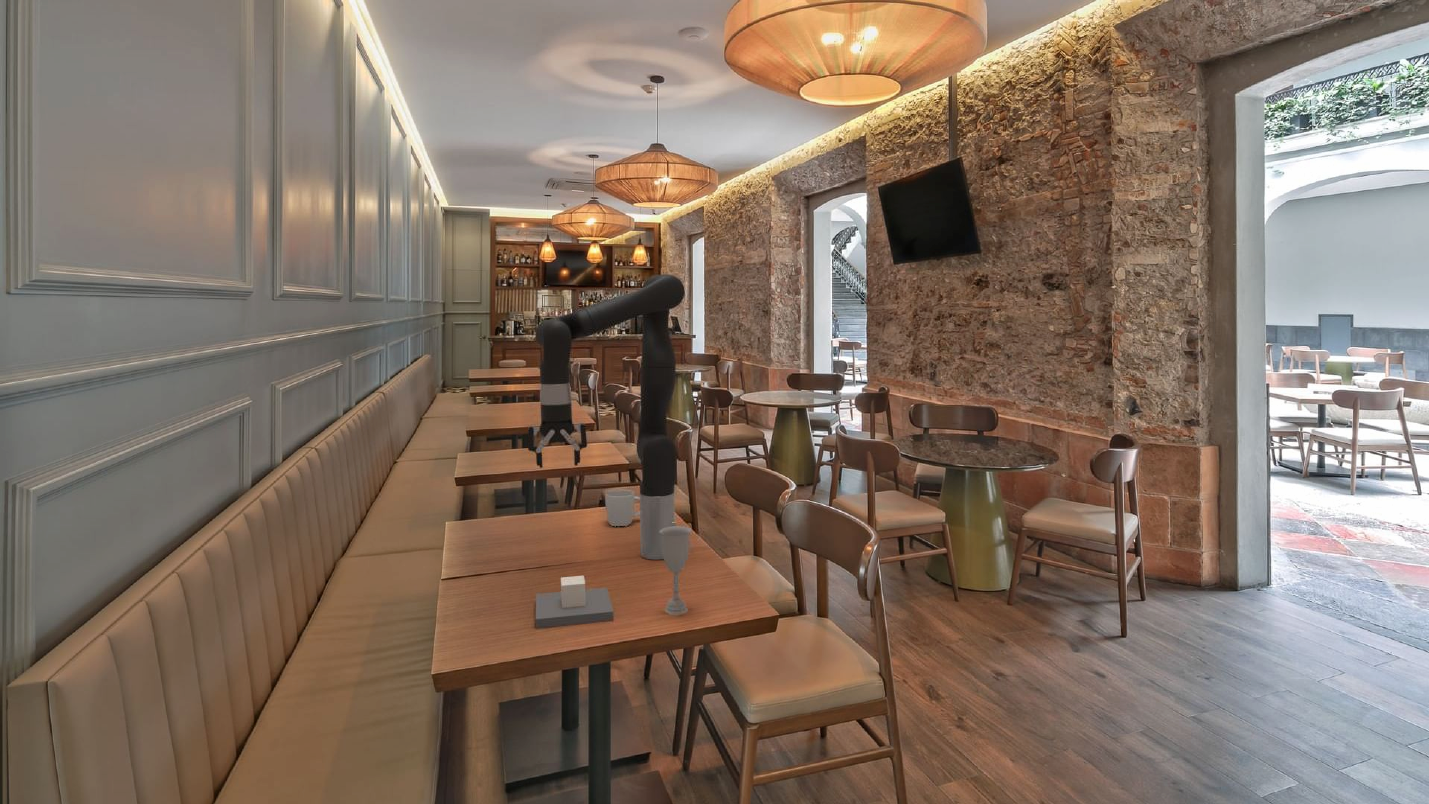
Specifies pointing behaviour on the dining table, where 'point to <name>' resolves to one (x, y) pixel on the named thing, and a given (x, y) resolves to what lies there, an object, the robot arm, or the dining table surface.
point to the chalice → (675, 561)
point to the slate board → (573, 609)
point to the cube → (573, 591)
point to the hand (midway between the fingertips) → (558, 466)
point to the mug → (620, 507)
